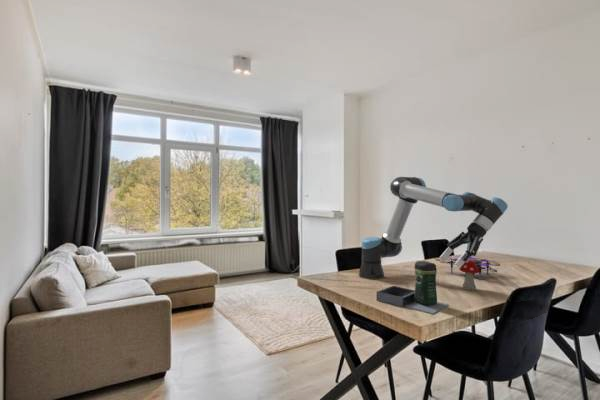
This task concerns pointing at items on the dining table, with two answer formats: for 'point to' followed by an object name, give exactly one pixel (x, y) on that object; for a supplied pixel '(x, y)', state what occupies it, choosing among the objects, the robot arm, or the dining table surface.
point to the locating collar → (390, 298)
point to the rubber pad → (427, 307)
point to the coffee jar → (425, 283)
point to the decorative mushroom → (469, 274)
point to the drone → (478, 263)
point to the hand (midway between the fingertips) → (449, 262)
